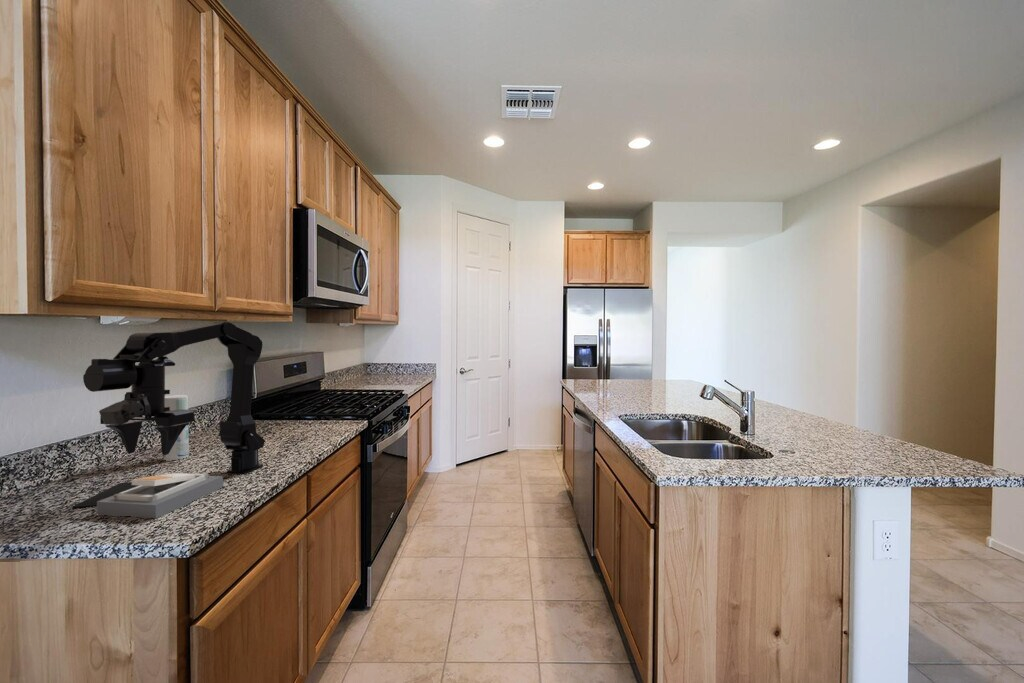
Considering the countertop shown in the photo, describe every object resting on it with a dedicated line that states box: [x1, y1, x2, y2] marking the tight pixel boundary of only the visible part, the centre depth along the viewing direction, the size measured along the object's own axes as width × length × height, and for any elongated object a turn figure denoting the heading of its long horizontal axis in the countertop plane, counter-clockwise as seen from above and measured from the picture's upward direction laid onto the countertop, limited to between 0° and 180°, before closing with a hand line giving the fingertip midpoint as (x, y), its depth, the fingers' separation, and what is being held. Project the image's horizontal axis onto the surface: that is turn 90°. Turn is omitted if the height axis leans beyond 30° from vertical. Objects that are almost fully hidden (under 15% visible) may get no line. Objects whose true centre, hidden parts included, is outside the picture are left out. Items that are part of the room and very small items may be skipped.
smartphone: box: [71, 481, 140, 510], centre depth 98 cm, size 7×1×15 cm
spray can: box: [162, 394, 190, 462], centre depth 126 cm, size 6×6×20 cm
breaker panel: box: [96, 472, 224, 520], centre depth 95 cm, size 17×15×4 cm
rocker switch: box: [131, 472, 196, 486], centre depth 95 cm, size 10×6×1 cm, turn 172°
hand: (148, 453), depth 91 cm, fingers open, 9 cm apart
